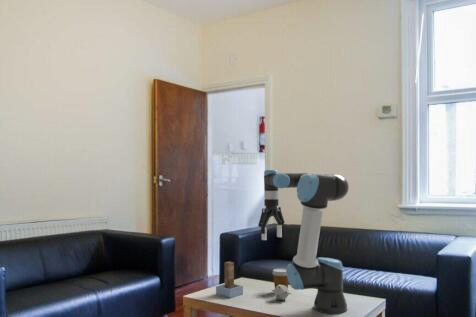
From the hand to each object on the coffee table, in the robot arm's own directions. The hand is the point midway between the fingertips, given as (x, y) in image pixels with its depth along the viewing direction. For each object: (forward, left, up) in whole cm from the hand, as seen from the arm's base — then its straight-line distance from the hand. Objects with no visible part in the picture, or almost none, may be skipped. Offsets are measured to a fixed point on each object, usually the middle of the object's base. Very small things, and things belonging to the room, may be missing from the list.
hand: (271, 238), depth 240 cm
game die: (-12, +9, -29) cm, 32 cm away
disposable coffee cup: (-4, -2, -29) cm, 29 cm away
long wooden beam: (+15, +18, -28) cm, 36 cm away
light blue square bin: (+15, +18, -29) cm, 37 cm away
